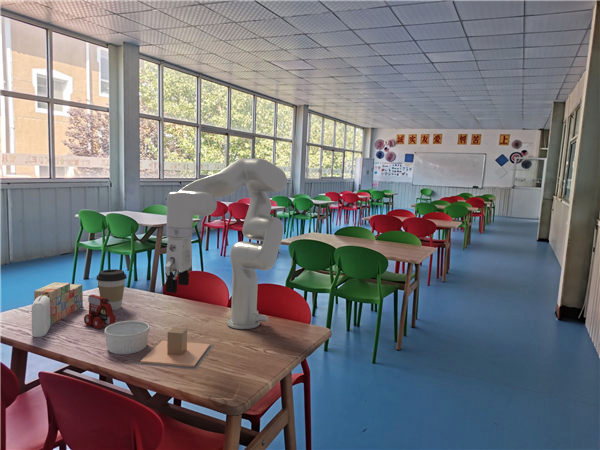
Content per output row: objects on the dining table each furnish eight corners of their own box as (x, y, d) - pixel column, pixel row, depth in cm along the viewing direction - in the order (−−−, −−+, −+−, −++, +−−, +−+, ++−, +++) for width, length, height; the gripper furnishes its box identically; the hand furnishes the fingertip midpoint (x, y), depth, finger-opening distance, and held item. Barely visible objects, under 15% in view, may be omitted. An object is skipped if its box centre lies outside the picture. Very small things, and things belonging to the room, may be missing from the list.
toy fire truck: (102, 331, 148) (102, 302, 147) (80, 323, 154) (80, 295, 153) (119, 326, 154) (120, 298, 153) (98, 318, 160) (98, 291, 159)
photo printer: (37, 327, 149) (37, 293, 147) (51, 326, 150) (51, 292, 149) (30, 338, 139) (29, 301, 138) (45, 337, 141) (44, 300, 139)
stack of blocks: (67, 306, 174) (67, 276, 172) (83, 306, 174) (82, 277, 172) (34, 323, 152) (33, 290, 151) (51, 324, 152) (51, 291, 151)
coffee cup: (120, 302, 182) (120, 267, 180) (131, 309, 173) (131, 272, 172) (92, 306, 174) (92, 270, 172) (101, 314, 166) (101, 276, 164)
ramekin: (121, 361, 126) (121, 338, 125) (95, 350, 133) (95, 328, 132) (158, 347, 137) (158, 326, 137) (131, 337, 144) (131, 317, 143)
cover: (209, 345, 139) (210, 323, 138) (194, 367, 123) (194, 342, 123) (162, 342, 140) (162, 319, 140) (140, 362, 125) (140, 337, 124)
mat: (213, 346, 140) (213, 345, 140) (196, 370, 122) (196, 369, 122) (160, 341, 142) (160, 340, 141) (135, 365, 124) (135, 364, 124)
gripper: (180, 237, 120) (179, 296, 121) (200, 230, 137) (198, 283, 138) (155, 235, 120) (153, 294, 122) (177, 229, 137) (176, 281, 139)
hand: (177, 288), depth 130 cm, fingers open, 9 cm apart
